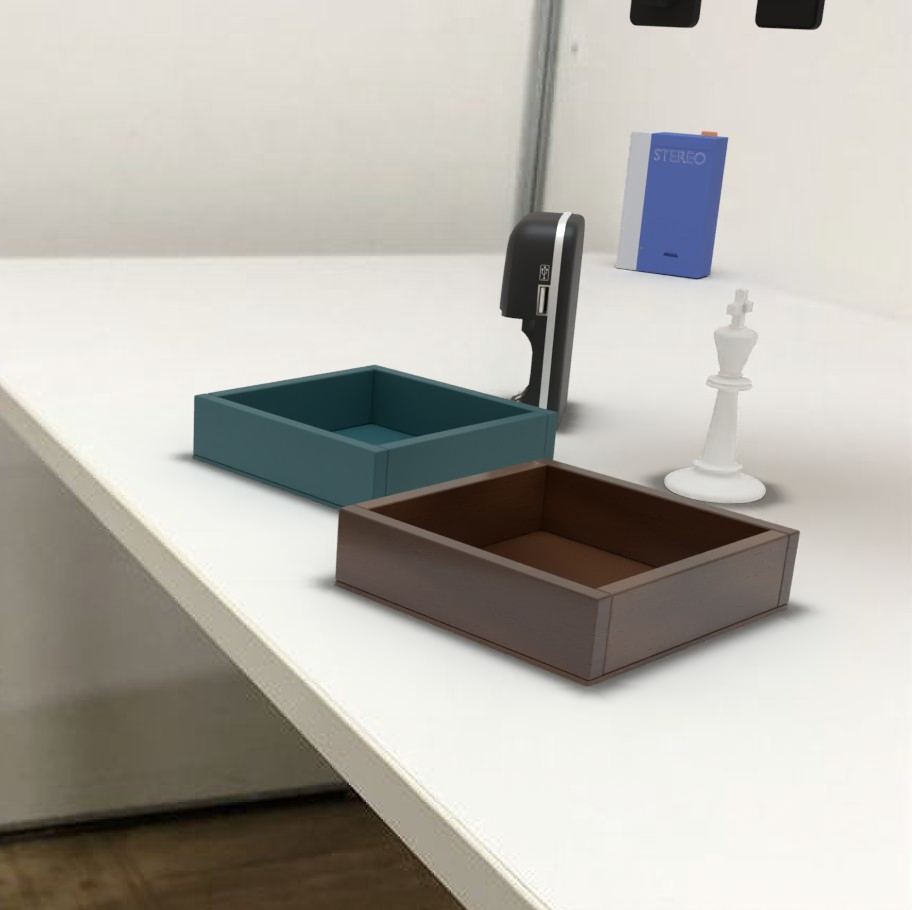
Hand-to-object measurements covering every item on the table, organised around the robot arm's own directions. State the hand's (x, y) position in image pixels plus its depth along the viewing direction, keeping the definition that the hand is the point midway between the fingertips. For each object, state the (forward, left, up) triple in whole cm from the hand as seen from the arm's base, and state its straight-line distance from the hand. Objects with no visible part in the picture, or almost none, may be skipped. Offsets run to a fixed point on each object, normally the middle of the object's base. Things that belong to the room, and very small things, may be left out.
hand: (727, 27), depth 72 cm
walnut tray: (+18, +7, -21) cm, 29 cm away
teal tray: (+11, -10, -21) cm, 26 cm away
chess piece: (0, +2, -22) cm, 22 cm away
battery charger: (-4, -13, -22) cm, 25 cm away
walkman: (-56, -41, -22) cm, 73 cm away
